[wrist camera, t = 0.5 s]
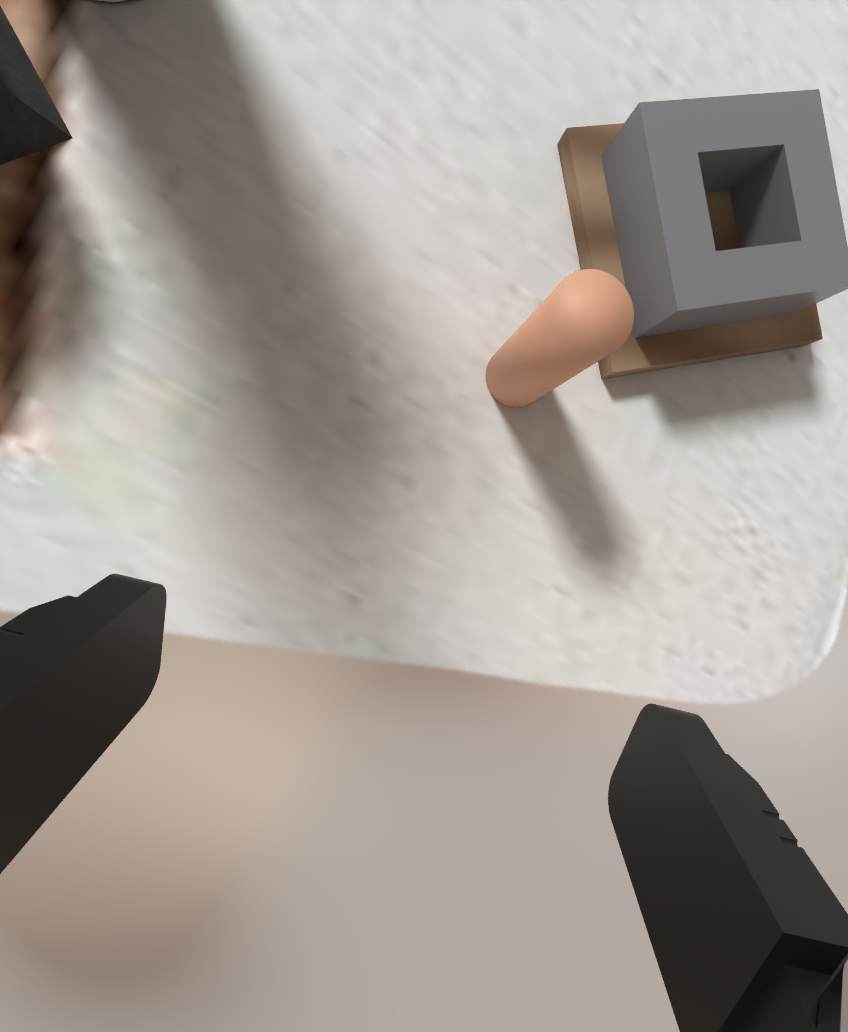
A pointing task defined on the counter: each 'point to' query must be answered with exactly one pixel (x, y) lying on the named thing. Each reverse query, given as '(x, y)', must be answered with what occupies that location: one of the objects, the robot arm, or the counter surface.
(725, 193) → the socket board
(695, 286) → the socket
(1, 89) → the juicer
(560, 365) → the peg
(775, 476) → the counter surface
